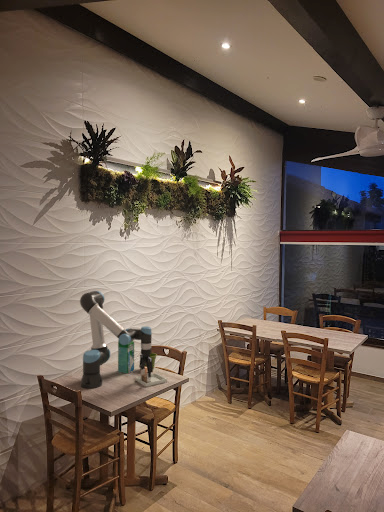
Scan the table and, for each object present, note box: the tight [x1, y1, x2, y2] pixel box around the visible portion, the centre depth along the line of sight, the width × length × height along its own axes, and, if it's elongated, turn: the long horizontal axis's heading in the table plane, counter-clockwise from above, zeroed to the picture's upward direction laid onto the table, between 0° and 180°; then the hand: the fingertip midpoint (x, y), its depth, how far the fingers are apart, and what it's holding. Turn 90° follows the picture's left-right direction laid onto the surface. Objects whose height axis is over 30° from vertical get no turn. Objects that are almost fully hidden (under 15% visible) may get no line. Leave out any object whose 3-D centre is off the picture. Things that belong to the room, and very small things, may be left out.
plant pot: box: [145, 352, 158, 370], centre depth 325 cm, size 12×12×11 cm
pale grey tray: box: [135, 372, 168, 388], centre depth 296 cm, size 17×15×2 cm
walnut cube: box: [140, 374, 151, 383], centre depth 293 cm, size 5×5×5 cm
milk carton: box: [117, 339, 135, 374], centre depth 318 cm, size 9×9×25 cm
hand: (145, 379), depth 293 cm, fingers open, 8 cm apart
